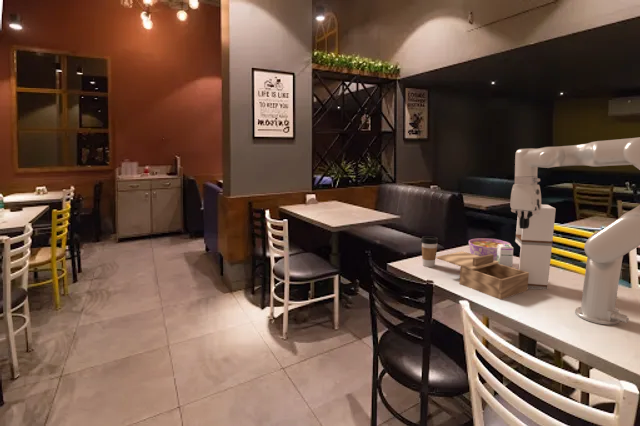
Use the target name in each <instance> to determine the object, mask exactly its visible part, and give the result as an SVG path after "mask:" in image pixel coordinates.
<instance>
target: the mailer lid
mask: <svg viewBox="0 0 640 426" xmlns="http://www.w3.org/2000/svg"><path fill="white" fill-rule="evenodd" d="M493 258H494V255H493V254H488V255H484V256H477V255H474V254H471V252H466V251H464V250H463V251H462V250H461V251H457V252H453V253H448V254H442V255H439V256H437V255H436V259H437V260H441V261H443V262H446V263H449V264H451V265H456V266H458V267H464V268H467V269H470V270H475V269H479V268H483V267H486V266H490V265H494V264H498V263H499V262H498V261H495V260H493Z"/></svg>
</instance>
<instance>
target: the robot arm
mask: <svg viewBox="0 0 640 426" xmlns="http://www.w3.org/2000/svg"><path fill="white" fill-rule="evenodd" d="M514 158H515V159H514V164H515V165H514V184H513V185H512V188H511V192H510V203H509V204H510V205H509V206H510V208H511V209H510V211H511V212H512V213H515V214H516V215H517V217H518V218H520V221H519V225H520V228H523V229H526V228H528V227H529V218H531V216H532V215H535V214H539V210H540V209H541V205H542V193H541V186H540V184H538V183H539V182H541V178H538V169H539V168H545V169H546V168H547V169H550V168H555V167H572V166H587V167H588V166H589V167H608V166H629V165H630V166H633V167H635V168H637V169H638V170H639V171H640V137H639V136H638V137H632V138H631V137H629V138H621V139H608V140H606V139H605V140H597V141H591V142H588V143H587V142H586V143H581V144H574V145H562V146H544V147H540V148H531V147H530V148H519V149H517V150H516V152H515V157H514ZM532 211H533V212H532ZM638 247H640V204H639V205H638V206H636V207H634V208H633V209H631V210H629V211H627V212H625V213H623V214H622V215H621V216H620V217H619V218H617V219H616V220H615V221H613V222H611V223H610V224H609V225H607V226H606V227H605V228H602V229H600V230H598V231H595V232H594V233H592V234H591V235H590V236H589V238H588V239H587V240H586V241H585V244H584V248H583V250H584V253H585V255H586V257H587V260H586V266H585V272H584V280H583V288H582V297H581V305H580V306H578V307H576V308H575V310H574V311H575V315H577V316H578V317H579V318H581V319H583V320H585V321H588V322H590V323H595V324H599V325H609V326H610V325H611V326H612V325H617V324H618V323H620V322H623V323H625V324H628V323H629V321H630V320H629V319H630V318H629V317H628V315H627V314H624V313H620V312H619V307H616V304H617V297H618V290H619V282H620V277H621V270H622V264H623V263H622V262H623V259H624V256H625V255H626V254H628V253H630V252H631V251H633V250H634V249H637V248H638Z"/></svg>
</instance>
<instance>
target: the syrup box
mask: <svg viewBox="0 0 640 426" xmlns="http://www.w3.org/2000/svg"><path fill="white" fill-rule="evenodd" d="M513 258H514V247H513V246H512V244H511V245H508V244H498V248H497V261H498V262H499V263H498V264H501V265H505V266H508V267H512V268H513V260H514V259H513Z"/></svg>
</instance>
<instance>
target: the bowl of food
mask: <svg viewBox="0 0 640 426" xmlns="http://www.w3.org/2000/svg"><path fill="white" fill-rule="evenodd" d="M498 244H508V245H511V246H512V244H511V243H510V242H509V241H505V240H501V239H497V238H479V237H478V238H472V239H469V240H468V246H469V253H470V254H474V255H477V256H484V255H488V254H493V255H494V258H493V260H495V261H497V248H498Z"/></svg>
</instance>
